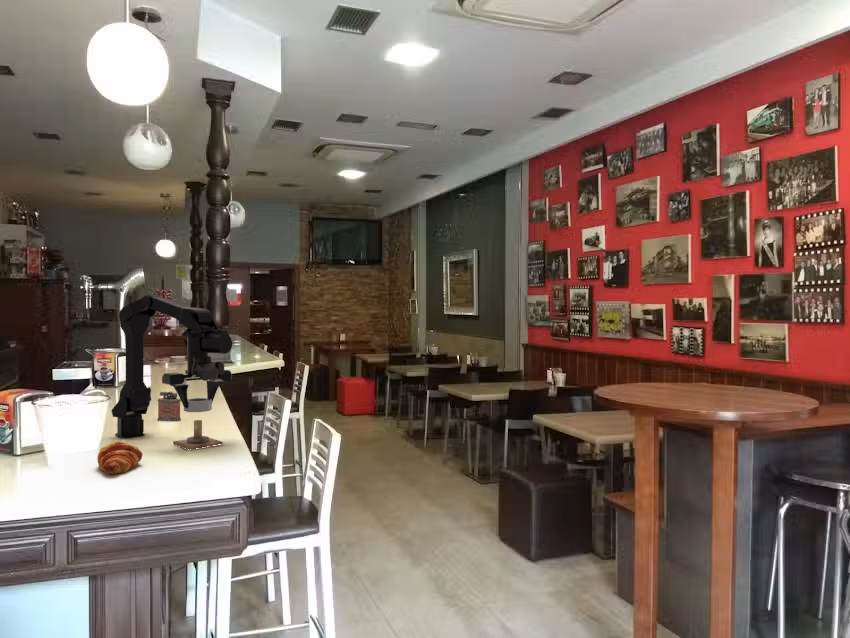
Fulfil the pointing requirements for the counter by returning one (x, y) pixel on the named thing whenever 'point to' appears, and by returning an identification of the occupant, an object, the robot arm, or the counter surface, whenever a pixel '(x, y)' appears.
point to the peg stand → (197, 439)
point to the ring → (199, 405)
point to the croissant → (118, 457)
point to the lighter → (169, 407)
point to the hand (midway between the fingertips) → (197, 406)
